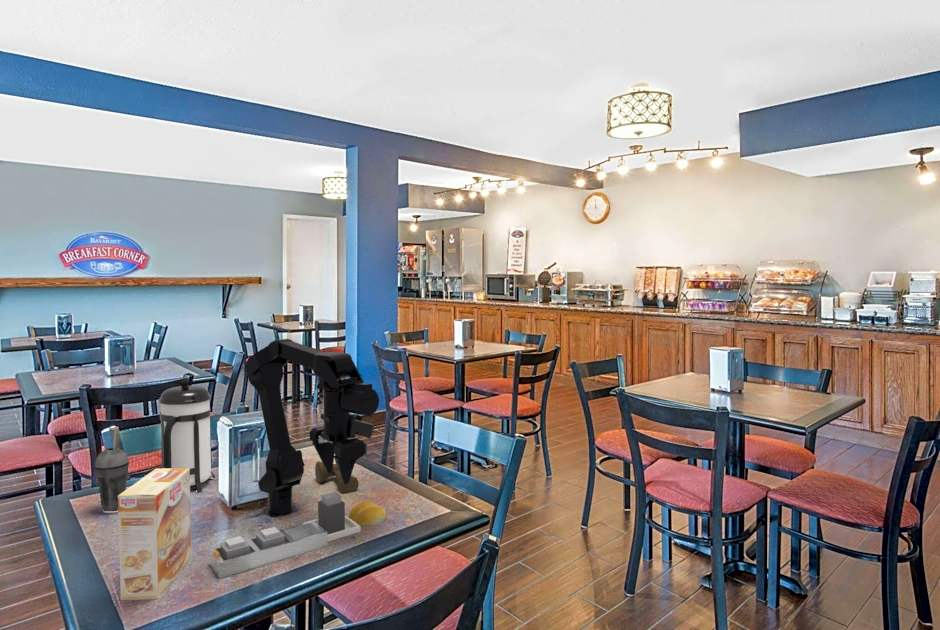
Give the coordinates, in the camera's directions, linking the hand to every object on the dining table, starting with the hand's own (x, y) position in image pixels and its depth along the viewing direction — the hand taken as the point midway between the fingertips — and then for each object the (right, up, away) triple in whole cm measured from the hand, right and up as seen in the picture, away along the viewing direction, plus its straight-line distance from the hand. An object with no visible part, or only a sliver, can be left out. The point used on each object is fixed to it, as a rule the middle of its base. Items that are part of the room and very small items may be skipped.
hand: (337, 478), depth 130 cm
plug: (-2, -12, +1) cm, 12 cm away
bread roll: (+6, -13, +8) cm, 16 cm away
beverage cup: (-58, -12, +12) cm, 60 cm away
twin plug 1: (-17, -13, -15) cm, 26 cm away
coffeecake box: (-29, -14, -20) cm, 38 cm away
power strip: (-11, -13, -11) cm, 21 cm away
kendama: (-7, -11, +32) cm, 34 cm away
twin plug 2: (-11, -13, -11) cm, 20 cm away
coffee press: (-48, -11, +28) cm, 56 cm away
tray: (-2, -13, +1) cm, 13 cm away
